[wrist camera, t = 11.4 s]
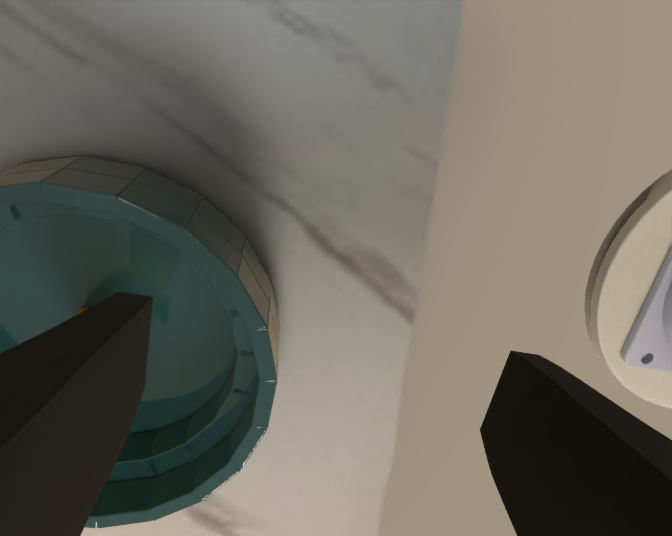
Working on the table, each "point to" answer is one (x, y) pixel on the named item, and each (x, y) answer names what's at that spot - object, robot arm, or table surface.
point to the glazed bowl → (166, 318)
